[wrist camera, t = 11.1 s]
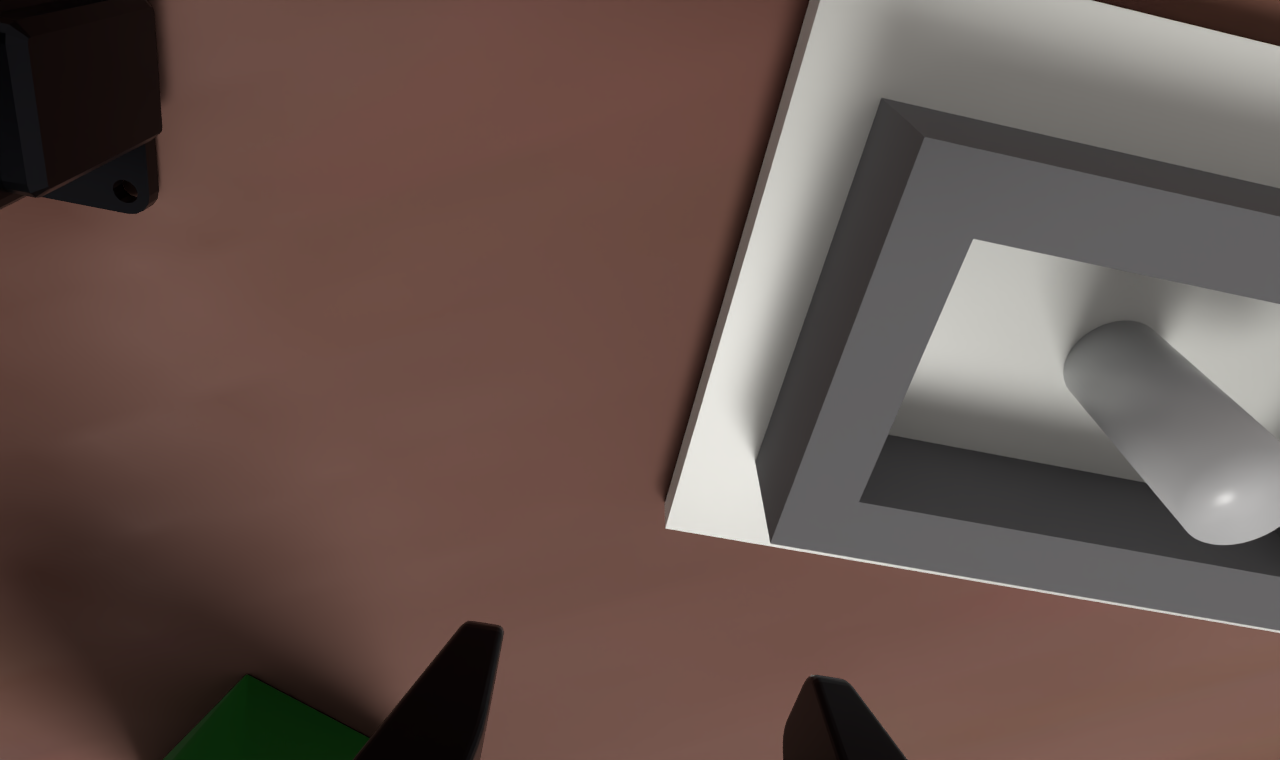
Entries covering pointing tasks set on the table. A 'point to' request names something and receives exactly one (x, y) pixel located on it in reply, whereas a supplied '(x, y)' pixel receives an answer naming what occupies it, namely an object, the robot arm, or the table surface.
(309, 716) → the milk carton
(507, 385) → the table surface
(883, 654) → the table surface
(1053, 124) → the hook board
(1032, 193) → the grey rectangular frame
